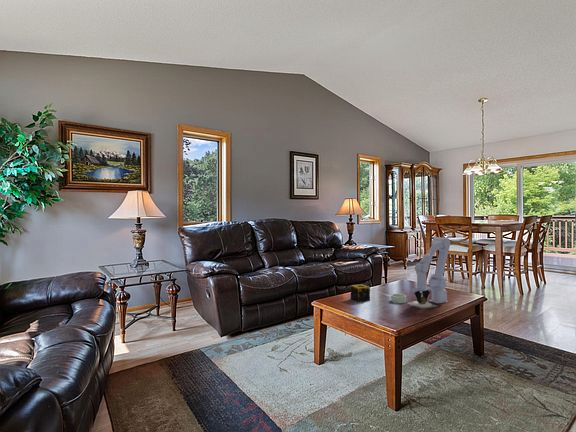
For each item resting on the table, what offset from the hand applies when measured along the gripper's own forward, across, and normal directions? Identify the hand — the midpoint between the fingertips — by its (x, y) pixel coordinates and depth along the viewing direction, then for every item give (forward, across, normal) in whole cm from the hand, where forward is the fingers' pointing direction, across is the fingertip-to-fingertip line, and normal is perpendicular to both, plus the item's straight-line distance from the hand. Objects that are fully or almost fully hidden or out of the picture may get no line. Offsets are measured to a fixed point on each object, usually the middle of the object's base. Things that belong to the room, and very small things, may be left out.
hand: (422, 302), depth 212 cm
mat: (+2, 0, 0) cm, 2 cm away
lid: (+2, 0, 0) cm, 2 cm away
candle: (+2, -30, +27) cm, 40 cm away
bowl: (+2, -9, +12) cm, 15 cm away
